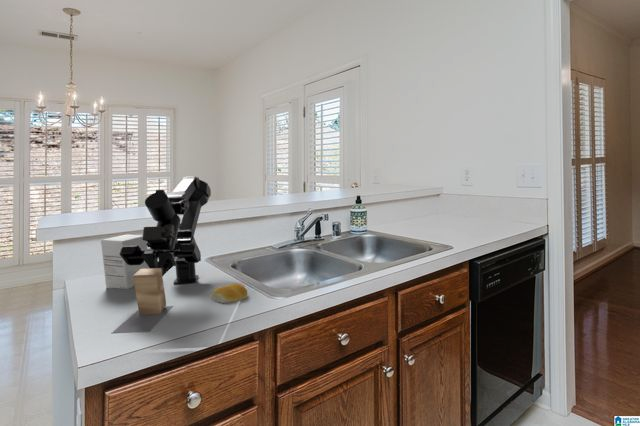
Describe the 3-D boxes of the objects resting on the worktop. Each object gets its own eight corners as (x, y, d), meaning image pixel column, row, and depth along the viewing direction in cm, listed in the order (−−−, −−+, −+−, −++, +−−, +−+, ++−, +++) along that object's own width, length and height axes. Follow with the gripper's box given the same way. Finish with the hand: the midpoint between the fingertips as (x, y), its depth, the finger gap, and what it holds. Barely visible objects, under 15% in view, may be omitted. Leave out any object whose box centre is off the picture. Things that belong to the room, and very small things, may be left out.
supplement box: (130, 279, 119) (125, 233, 117) (151, 281, 115) (147, 234, 114) (104, 288, 110) (99, 239, 108) (127, 291, 107) (122, 240, 105)
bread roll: (253, 296, 100) (252, 282, 99) (227, 307, 93) (226, 292, 92) (232, 291, 105) (232, 277, 104) (206, 301, 97) (205, 286, 97)
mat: (141, 309, 92) (140, 307, 92) (173, 307, 93) (173, 305, 93) (111, 335, 78) (111, 333, 78) (149, 333, 78) (149, 331, 78)
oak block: (146, 306, 92) (140, 268, 89) (166, 305, 92) (161, 267, 90) (139, 314, 88) (133, 275, 86) (160, 313, 88) (154, 274, 86)
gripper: (119, 215, 94) (100, 268, 84) (193, 212, 95) (182, 265, 85) (136, 239, 102) (120, 290, 93) (203, 237, 103) (195, 287, 94)
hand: (153, 283), depth 91 cm, fingers closed, pressing on oak block
